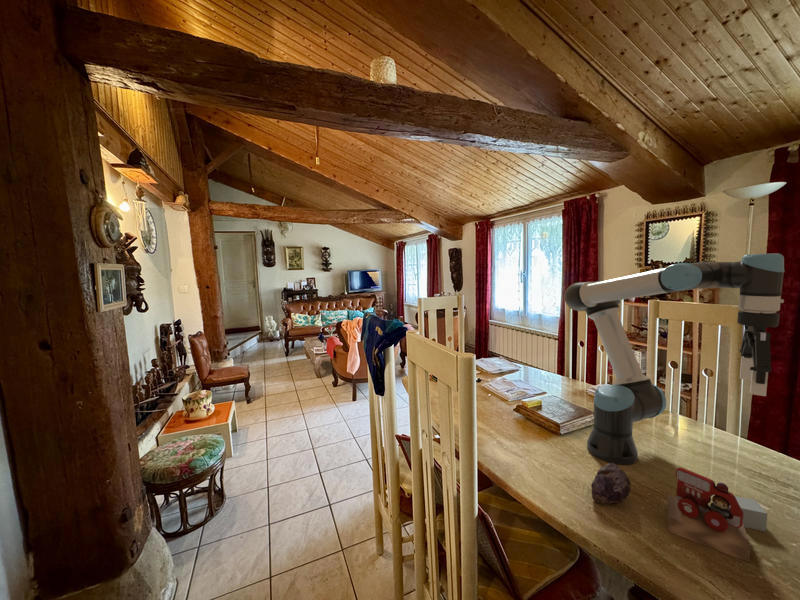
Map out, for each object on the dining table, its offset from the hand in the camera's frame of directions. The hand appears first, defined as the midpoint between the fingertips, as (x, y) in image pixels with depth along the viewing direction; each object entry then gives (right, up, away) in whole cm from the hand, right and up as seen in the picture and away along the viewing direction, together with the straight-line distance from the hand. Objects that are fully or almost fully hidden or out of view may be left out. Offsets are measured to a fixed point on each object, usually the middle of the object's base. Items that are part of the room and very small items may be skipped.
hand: (751, 386), depth 88 cm
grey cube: (-7, -34, -5) cm, 35 cm away
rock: (-36, -34, +5) cm, 50 cm away
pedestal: (-21, -34, -8) cm, 41 cm away
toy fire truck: (-21, -31, -9) cm, 38 cm away
